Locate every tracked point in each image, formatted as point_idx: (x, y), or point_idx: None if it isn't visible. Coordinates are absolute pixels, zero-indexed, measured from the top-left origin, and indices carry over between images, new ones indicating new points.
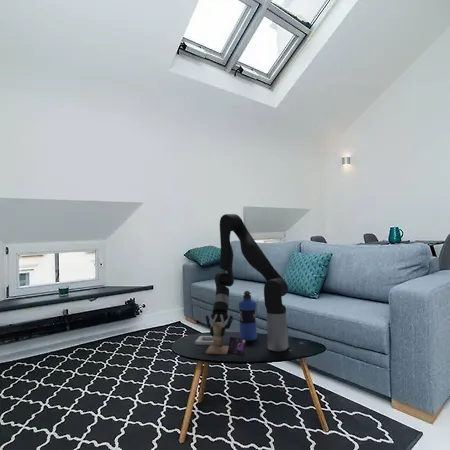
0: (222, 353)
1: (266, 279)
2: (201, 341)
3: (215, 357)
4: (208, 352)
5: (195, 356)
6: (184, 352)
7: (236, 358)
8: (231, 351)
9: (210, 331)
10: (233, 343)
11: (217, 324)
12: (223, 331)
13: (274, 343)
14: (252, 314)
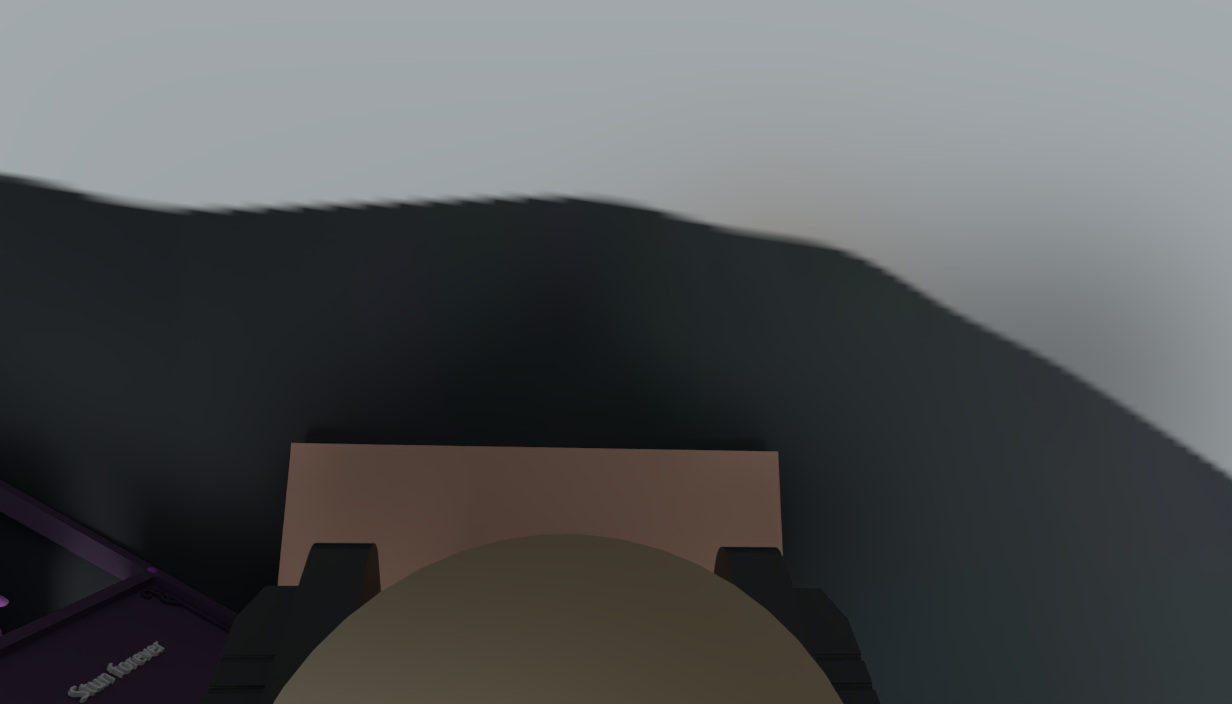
0: (398, 449)
1: None
2: None
3: (520, 258)
4: (713, 452)
5: (920, 291)
6: (1222, 505)
7: (82, 225)
8: (194, 612)
9: (844, 660)
10: (50, 671)
11: (508, 544)
12: (258, 677)
13: None
14: None
